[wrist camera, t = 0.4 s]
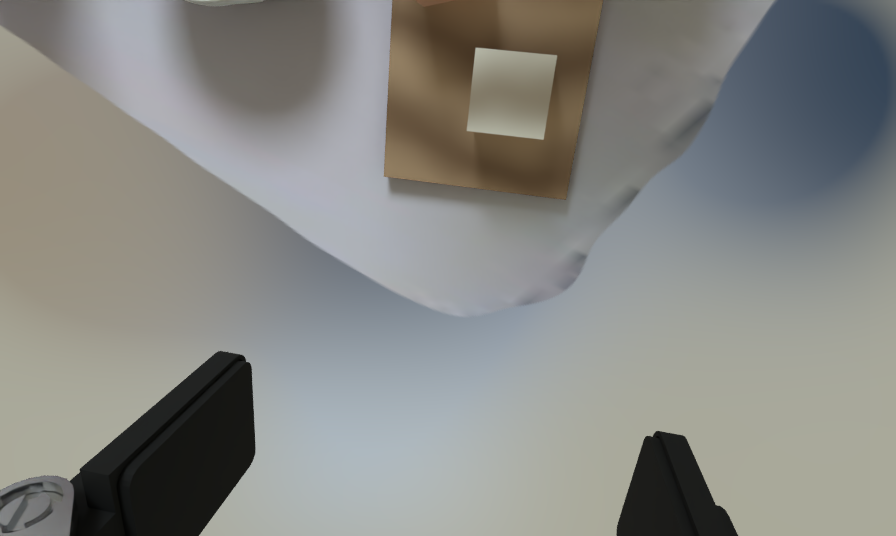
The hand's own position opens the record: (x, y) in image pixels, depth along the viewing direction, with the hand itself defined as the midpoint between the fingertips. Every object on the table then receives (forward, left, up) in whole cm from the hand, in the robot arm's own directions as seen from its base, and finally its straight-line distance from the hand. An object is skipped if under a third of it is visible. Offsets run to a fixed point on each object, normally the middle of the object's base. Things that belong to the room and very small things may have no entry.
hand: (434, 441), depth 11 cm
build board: (-10, -2, -29) cm, 31 cm away
